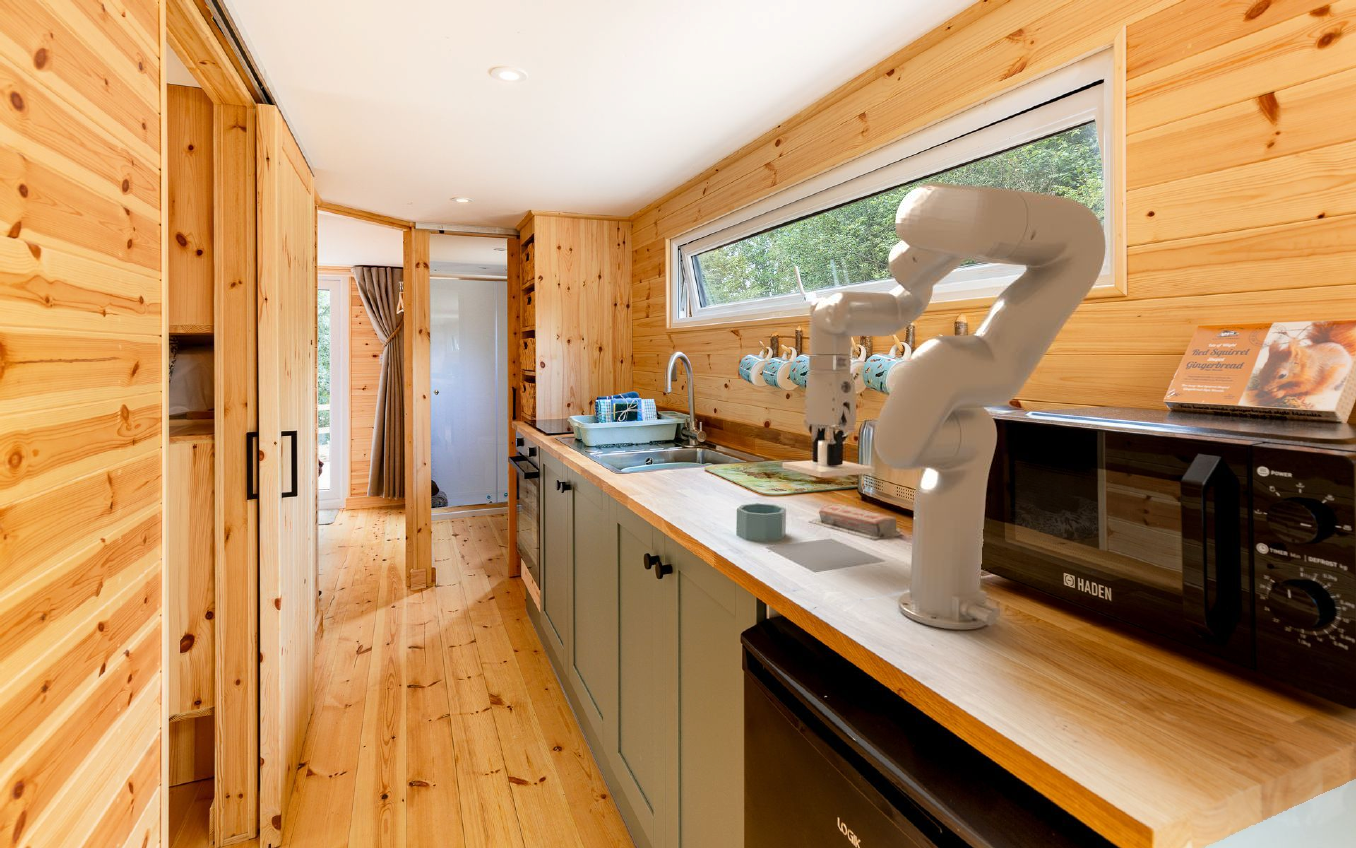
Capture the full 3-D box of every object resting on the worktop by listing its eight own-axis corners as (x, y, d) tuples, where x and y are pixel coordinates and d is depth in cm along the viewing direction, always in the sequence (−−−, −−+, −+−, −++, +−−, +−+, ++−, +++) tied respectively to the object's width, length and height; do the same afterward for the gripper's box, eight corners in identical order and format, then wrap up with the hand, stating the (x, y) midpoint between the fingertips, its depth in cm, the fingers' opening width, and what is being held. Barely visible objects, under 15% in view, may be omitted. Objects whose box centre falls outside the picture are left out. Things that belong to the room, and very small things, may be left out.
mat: (885, 562, 120) (885, 560, 120) (814, 574, 113) (814, 572, 113) (830, 540, 134) (831, 538, 134) (765, 549, 128) (765, 547, 128)
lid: (874, 472, 119) (875, 443, 118) (820, 477, 114) (821, 446, 113) (832, 463, 130) (833, 436, 129) (782, 467, 125) (782, 439, 124)
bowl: (793, 540, 134) (793, 511, 133) (753, 545, 130) (753, 516, 129) (767, 528, 143) (768, 502, 142) (729, 533, 139) (730, 506, 138)
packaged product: (904, 514, 138) (875, 521, 133) (903, 536, 139) (874, 544, 133) (837, 499, 153) (808, 505, 147) (836, 519, 153) (807, 526, 147)
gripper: (876, 365, 114) (873, 468, 116) (818, 365, 129) (816, 456, 131) (842, 365, 111) (839, 471, 112) (787, 365, 126) (785, 458, 127)
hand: (827, 462), depth 121 cm, fingers closed on lid, 3 cm apart
